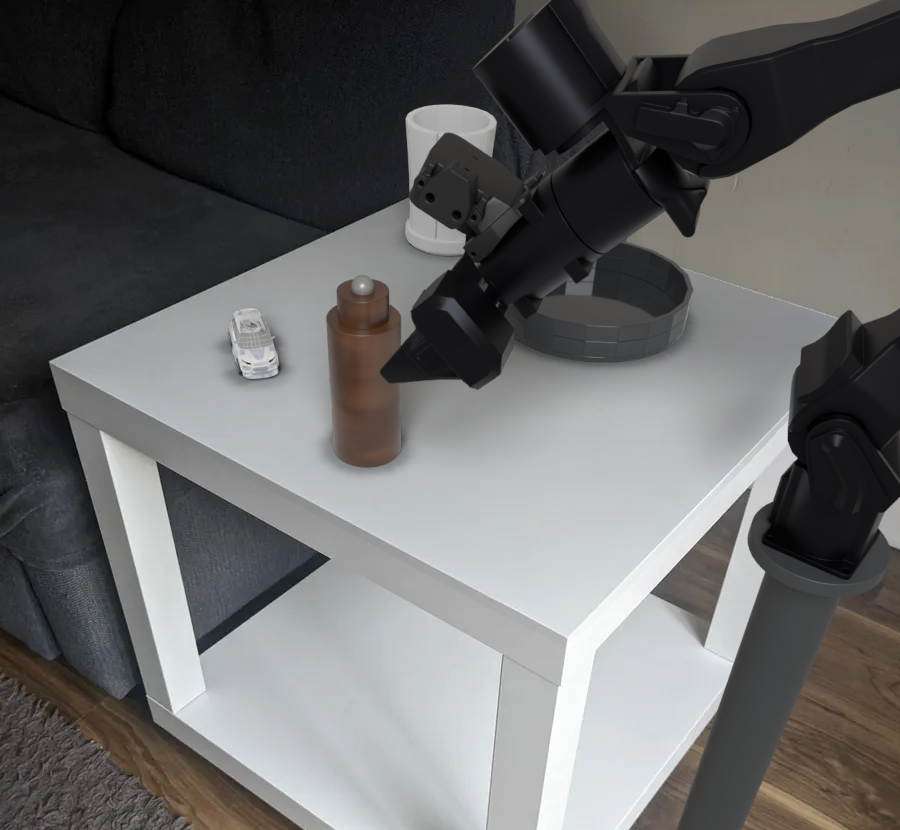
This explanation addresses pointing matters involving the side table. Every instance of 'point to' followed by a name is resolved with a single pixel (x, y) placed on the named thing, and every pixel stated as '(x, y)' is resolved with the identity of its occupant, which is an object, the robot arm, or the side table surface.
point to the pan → (611, 309)
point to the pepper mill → (363, 373)
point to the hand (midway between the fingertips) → (405, 344)
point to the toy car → (253, 345)
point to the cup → (421, 137)
